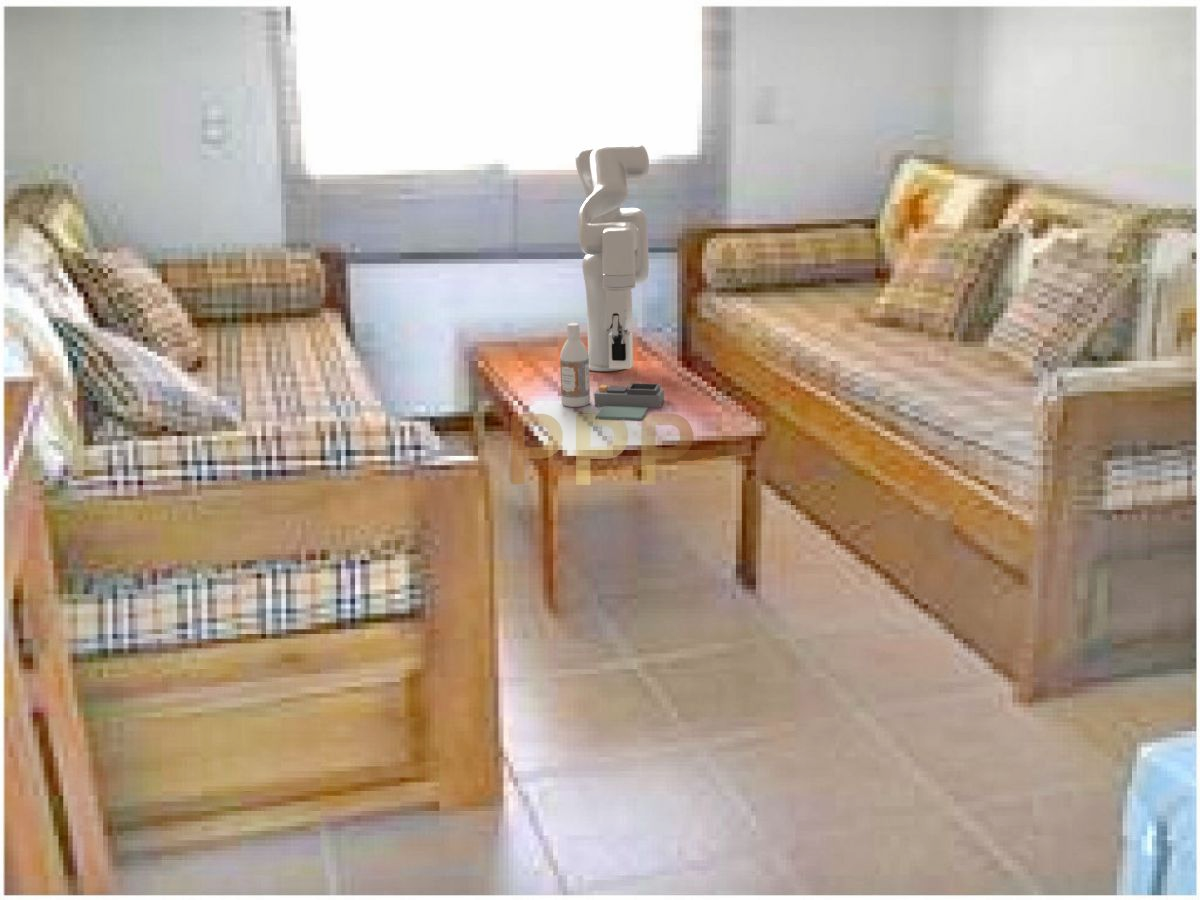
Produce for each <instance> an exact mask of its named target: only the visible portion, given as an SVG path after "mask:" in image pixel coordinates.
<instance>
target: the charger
mask: <svg viewBox="0 0 1200 900" xmlns="http://www.w3.org/2000/svg"><path fill="white" fill-rule="evenodd" d="M621 327H622V326H621ZM621 329H622V328H619V329H618V331H622V330H621ZM619 334H620V335H621V333H619ZM608 342H609V368H613V369H622V370H631V368H632V367H633V366H634V347H633V346H634V343H633V342H634V341H633V331H629V332H624V344H626V360H625V361H613V360H612V332H611V333H610V334H609V335H608Z"/></svg>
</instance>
